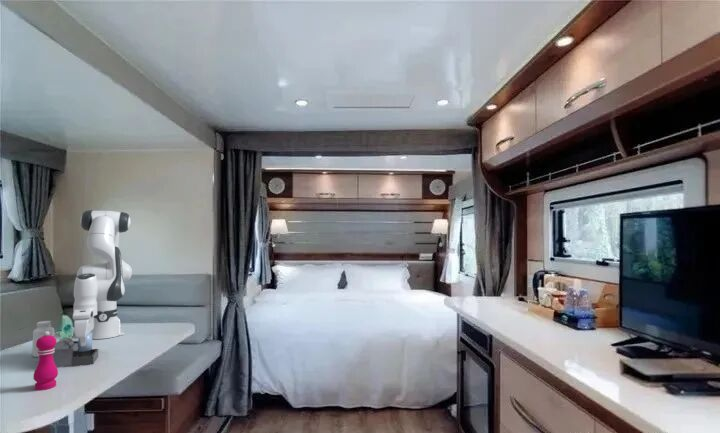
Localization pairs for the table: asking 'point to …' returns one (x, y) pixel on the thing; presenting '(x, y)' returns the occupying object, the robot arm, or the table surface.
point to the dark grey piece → (72, 354)
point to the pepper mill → (45, 363)
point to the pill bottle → (41, 334)
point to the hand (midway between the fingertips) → (85, 343)
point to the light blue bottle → (88, 343)
